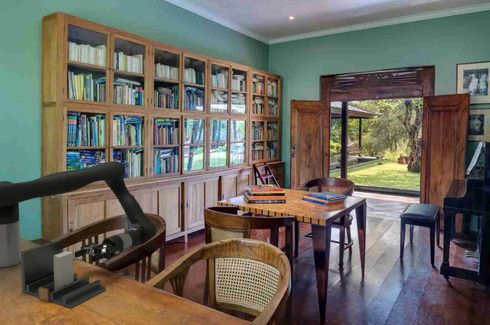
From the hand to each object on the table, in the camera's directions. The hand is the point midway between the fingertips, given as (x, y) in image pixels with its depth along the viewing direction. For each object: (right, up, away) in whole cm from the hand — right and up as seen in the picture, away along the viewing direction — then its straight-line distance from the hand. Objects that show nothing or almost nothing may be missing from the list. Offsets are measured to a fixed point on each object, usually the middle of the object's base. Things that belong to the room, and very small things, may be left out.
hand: (83, 257), depth 126 cm
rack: (-4, -10, -6) cm, 12 cm away
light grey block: (-4, -9, -6) cm, 12 cm away
